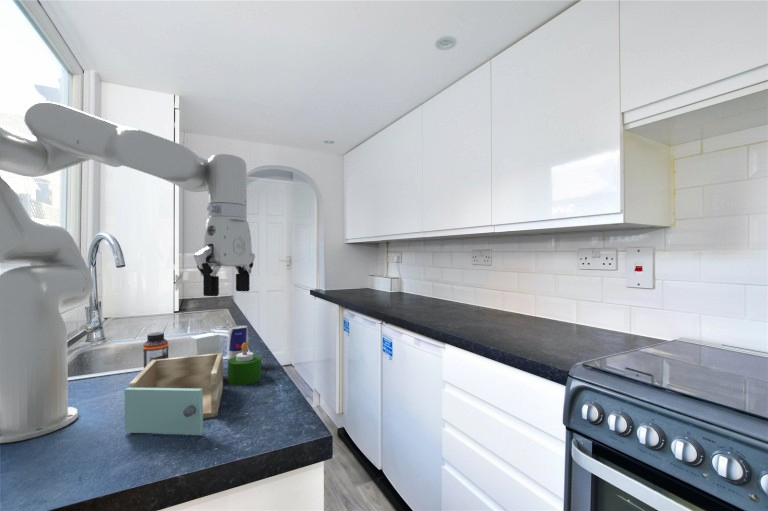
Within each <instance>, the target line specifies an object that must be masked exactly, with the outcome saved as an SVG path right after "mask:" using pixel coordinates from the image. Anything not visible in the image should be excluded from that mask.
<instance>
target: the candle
mask: <svg viewBox="0 0 768 511" xmlns="http://www.w3.org/2000/svg"><path fill="white" fill-rule="evenodd" d="M247 348H248V349H249V345H248V346H247V344H246V343H243V344H242V352H243V353H239V354H237V355H236V357H234V358H231V359H229V358H228V360H227V383H228V384H229V385H232V386H244V385H250V384H254V383H256V382H259V381H260V380H261V379H262V357H261V355H258V354H254V352H251V351H250V352H249V351H248V352H247Z"/></svg>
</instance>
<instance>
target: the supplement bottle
mask: <svg viewBox="0 0 768 511" xmlns="http://www.w3.org/2000/svg"><path fill="white" fill-rule="evenodd" d="M146 337H147V338H146V339H147V340H146V341H145V342H144V343H143V349H142V350H143V351H142V352H143V355H142V356H143V369H144V368H145V367H146V366H147V365H148V364H149V363H150V362H151V361H152V360H157V359H167V358H169V341H168V340H167V339H166V338H165V332H163V331H157V332H150V333H148V334H147V336H146Z"/></svg>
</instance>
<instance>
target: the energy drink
mask: <svg viewBox="0 0 768 511" xmlns="http://www.w3.org/2000/svg"><path fill="white" fill-rule="evenodd" d="M248 328H249V327H248V326H247V325H243V324H242V325H241V324H239V325H233V326H229V328H228V332H227V333H228V360H229V359H231V358H234V357H236V355H237V354H239V353H243V352H242V344H243V343H246V344H247V346H248V348H247V352H249V329H248Z"/></svg>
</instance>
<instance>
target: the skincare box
mask: <svg viewBox="0 0 768 511" xmlns="http://www.w3.org/2000/svg"><path fill="white" fill-rule="evenodd" d="M189 347H190V348H189V354H190V355H189V356H197V355H206V354H216V353H221V351H220V334H219V333H215V332H207V333H203V334H198V335H192V336H189Z"/></svg>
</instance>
